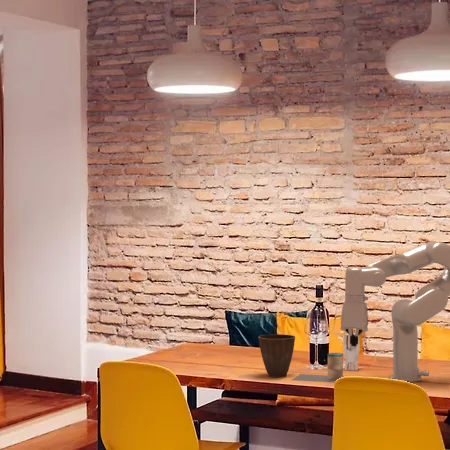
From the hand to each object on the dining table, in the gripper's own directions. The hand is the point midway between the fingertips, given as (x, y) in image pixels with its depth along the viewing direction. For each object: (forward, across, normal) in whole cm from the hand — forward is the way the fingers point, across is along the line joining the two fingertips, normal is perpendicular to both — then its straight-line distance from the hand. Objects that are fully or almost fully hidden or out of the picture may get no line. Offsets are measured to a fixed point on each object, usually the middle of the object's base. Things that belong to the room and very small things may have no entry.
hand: (353, 345), depth 385 cm
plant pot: (+15, +32, -4) cm, 36 cm away
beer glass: (+14, +6, -27) cm, 31 cm away
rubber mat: (+14, +12, 0) cm, 19 cm away
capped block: (+13, +7, 0) cm, 15 cm away
